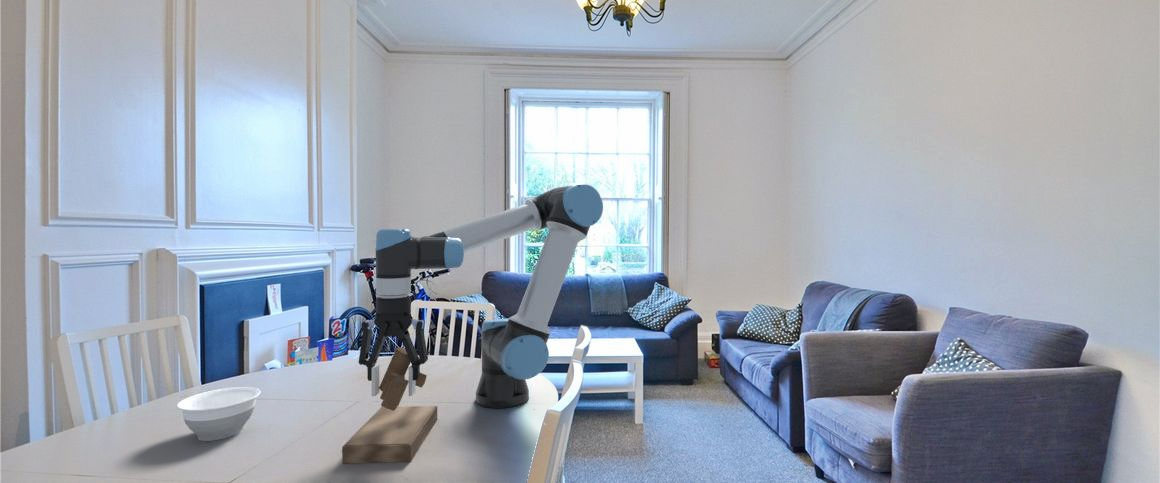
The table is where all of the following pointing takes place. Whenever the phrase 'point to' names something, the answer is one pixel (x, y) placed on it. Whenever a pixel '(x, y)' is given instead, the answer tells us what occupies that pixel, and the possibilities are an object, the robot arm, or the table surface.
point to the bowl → (219, 411)
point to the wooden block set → (397, 380)
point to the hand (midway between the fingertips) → (393, 393)
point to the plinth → (390, 435)
